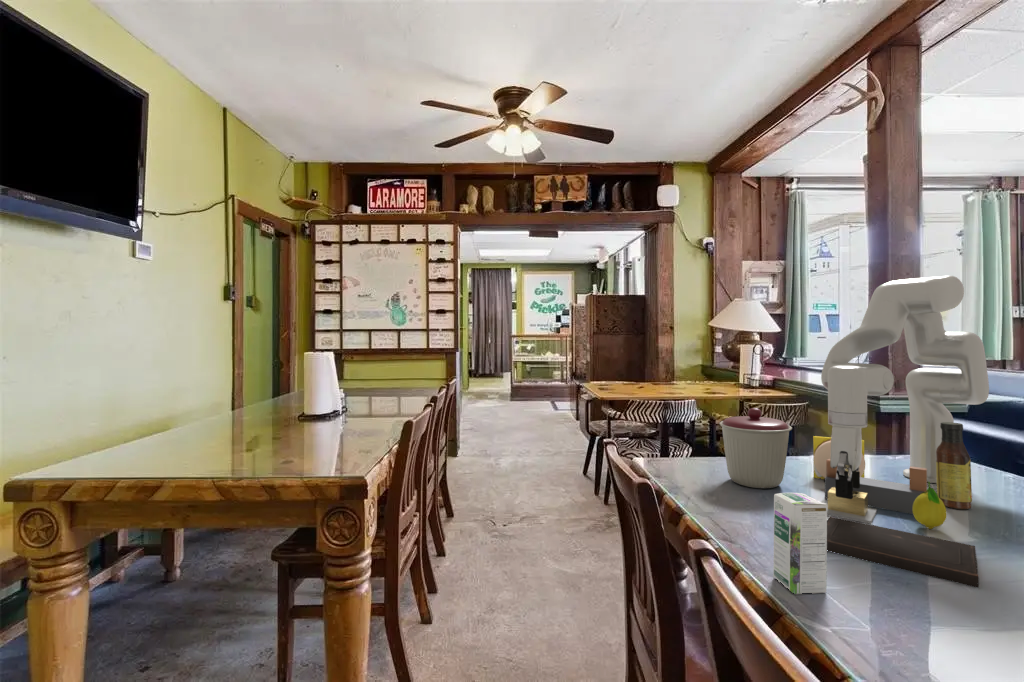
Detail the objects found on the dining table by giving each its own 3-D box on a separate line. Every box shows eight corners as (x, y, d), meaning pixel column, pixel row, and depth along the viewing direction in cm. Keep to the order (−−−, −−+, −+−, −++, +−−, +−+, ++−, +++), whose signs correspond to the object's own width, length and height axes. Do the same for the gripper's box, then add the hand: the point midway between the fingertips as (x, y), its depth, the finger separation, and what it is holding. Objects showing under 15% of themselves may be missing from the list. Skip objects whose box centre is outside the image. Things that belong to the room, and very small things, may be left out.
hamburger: (813, 482, 136) (813, 439, 136) (813, 475, 144) (813, 434, 143) (866, 489, 130) (866, 444, 130) (863, 481, 137) (863, 438, 137)
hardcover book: (829, 526, 106) (829, 516, 106) (975, 558, 91) (974, 545, 91) (814, 550, 94) (814, 539, 94) (978, 591, 79) (978, 577, 79)
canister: (793, 480, 139) (793, 406, 139) (790, 497, 124) (790, 415, 123) (725, 471, 148) (725, 402, 148) (714, 486, 133) (714, 409, 133)
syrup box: (771, 577, 83) (771, 492, 83) (804, 576, 83) (804, 491, 83) (793, 595, 77) (793, 504, 77) (829, 593, 78) (828, 502, 77)
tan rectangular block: (832, 503, 117) (831, 487, 117) (867, 510, 113) (867, 493, 112) (827, 509, 114) (827, 491, 114) (864, 516, 109) (864, 498, 109)
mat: (826, 502, 120) (826, 499, 120) (877, 511, 113) (877, 509, 113) (817, 513, 113) (817, 510, 113) (871, 524, 106) (871, 521, 106)
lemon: (939, 537, 99) (939, 488, 99) (905, 527, 104) (905, 480, 104) (955, 531, 102) (954, 483, 102) (921, 521, 107) (921, 476, 107)
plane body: (829, 491, 129) (829, 453, 129) (930, 509, 115) (930, 466, 115) (823, 497, 124) (823, 458, 123) (928, 517, 110) (928, 472, 110)
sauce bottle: (978, 511, 113) (978, 426, 113) (947, 509, 114) (947, 425, 114) (959, 502, 119) (958, 421, 119) (929, 500, 121) (929, 420, 121)
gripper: (835, 412, 122) (836, 480, 122) (820, 422, 109) (821, 498, 109) (872, 415, 117) (873, 486, 117) (861, 426, 104) (862, 505, 104)
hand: (848, 492), depth 113 cm, fingers open, 9 cm apart
